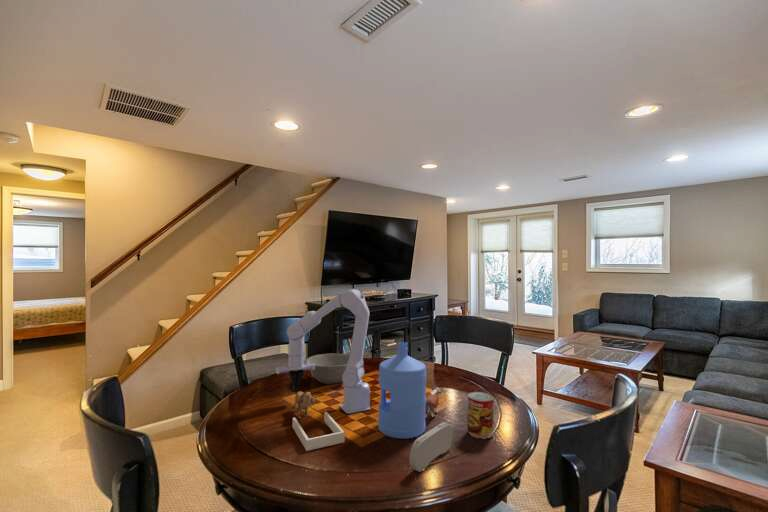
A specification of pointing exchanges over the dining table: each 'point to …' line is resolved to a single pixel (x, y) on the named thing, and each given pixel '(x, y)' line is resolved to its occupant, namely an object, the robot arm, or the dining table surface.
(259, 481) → the dining table surface
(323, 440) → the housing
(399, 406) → the water jug
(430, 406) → the bull figurine
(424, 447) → the grey rounded slab
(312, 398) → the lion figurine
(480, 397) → the canned food
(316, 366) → the ceramic bowl
